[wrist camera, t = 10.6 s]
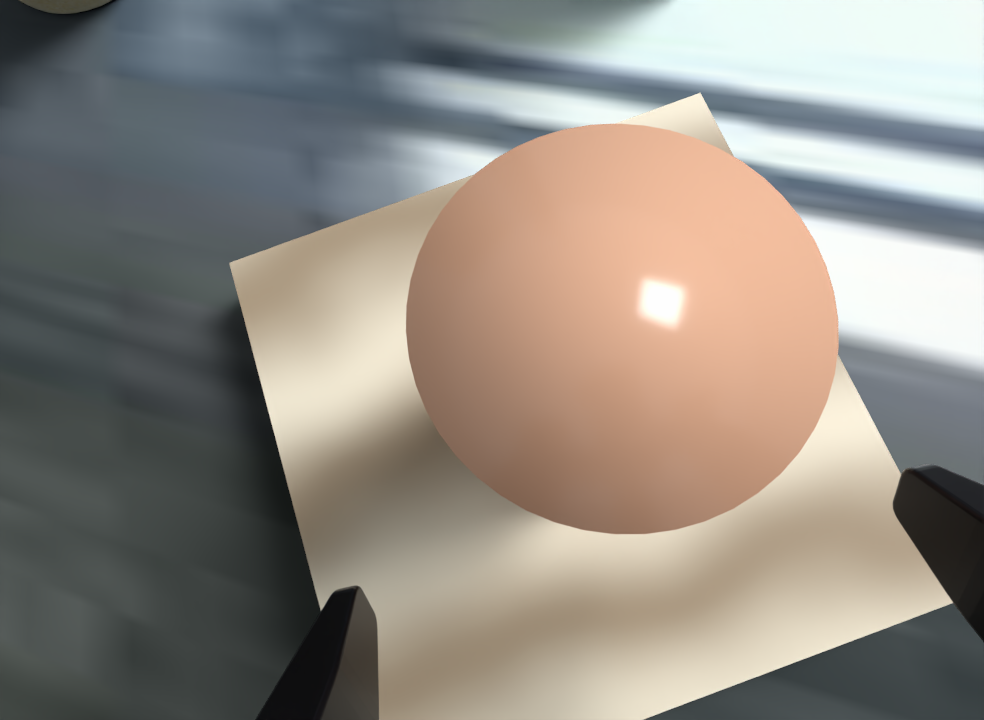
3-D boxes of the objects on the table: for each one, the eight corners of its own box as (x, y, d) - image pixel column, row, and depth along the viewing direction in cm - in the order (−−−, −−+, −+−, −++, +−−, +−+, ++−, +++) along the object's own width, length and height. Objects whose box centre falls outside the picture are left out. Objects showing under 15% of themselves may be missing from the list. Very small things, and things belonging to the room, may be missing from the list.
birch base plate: (904, 580, 18) (965, 598, 15) (396, 770, 17) (375, 820, 15) (680, 135, 21) (700, 93, 19) (263, 287, 21) (229, 263, 19)
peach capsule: (613, 515, 16) (788, 602, 5) (460, 463, 17) (345, 450, 6) (655, 363, 17) (875, 179, 6) (508, 320, 18) (481, 84, 7)
